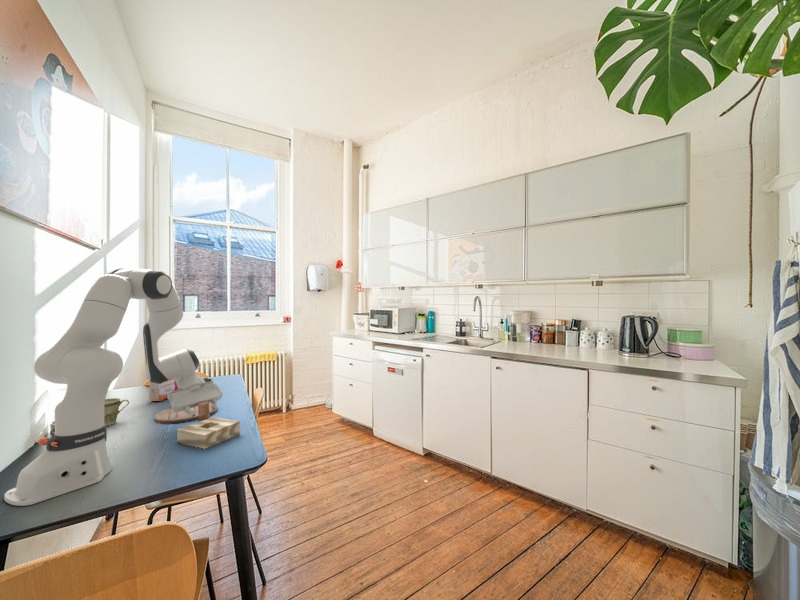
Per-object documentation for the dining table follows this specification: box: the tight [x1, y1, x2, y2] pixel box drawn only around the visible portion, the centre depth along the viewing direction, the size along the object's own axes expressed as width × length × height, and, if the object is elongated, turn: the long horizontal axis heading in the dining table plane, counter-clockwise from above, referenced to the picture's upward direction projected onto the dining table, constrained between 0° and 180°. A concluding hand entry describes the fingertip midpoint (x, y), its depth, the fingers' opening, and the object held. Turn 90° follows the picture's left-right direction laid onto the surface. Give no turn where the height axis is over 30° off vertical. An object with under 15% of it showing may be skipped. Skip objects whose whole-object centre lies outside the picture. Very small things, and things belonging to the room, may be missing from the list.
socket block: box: [176, 416, 241, 450], centre depth 133 cm, size 15×15×5 cm
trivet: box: [154, 403, 218, 424], centre depth 162 cm, size 25×25×2 cm
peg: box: [198, 401, 211, 422], centre depth 146 cm, size 4×4×10 cm
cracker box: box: [148, 378, 175, 402], centre depth 190 cm, size 14×6×21 cm, turn 179°
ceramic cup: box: [104, 397, 130, 427], centre depth 152 cm, size 13×10×10 cm
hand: (204, 412), depth 145 cm, fingers open, 8 cm apart
